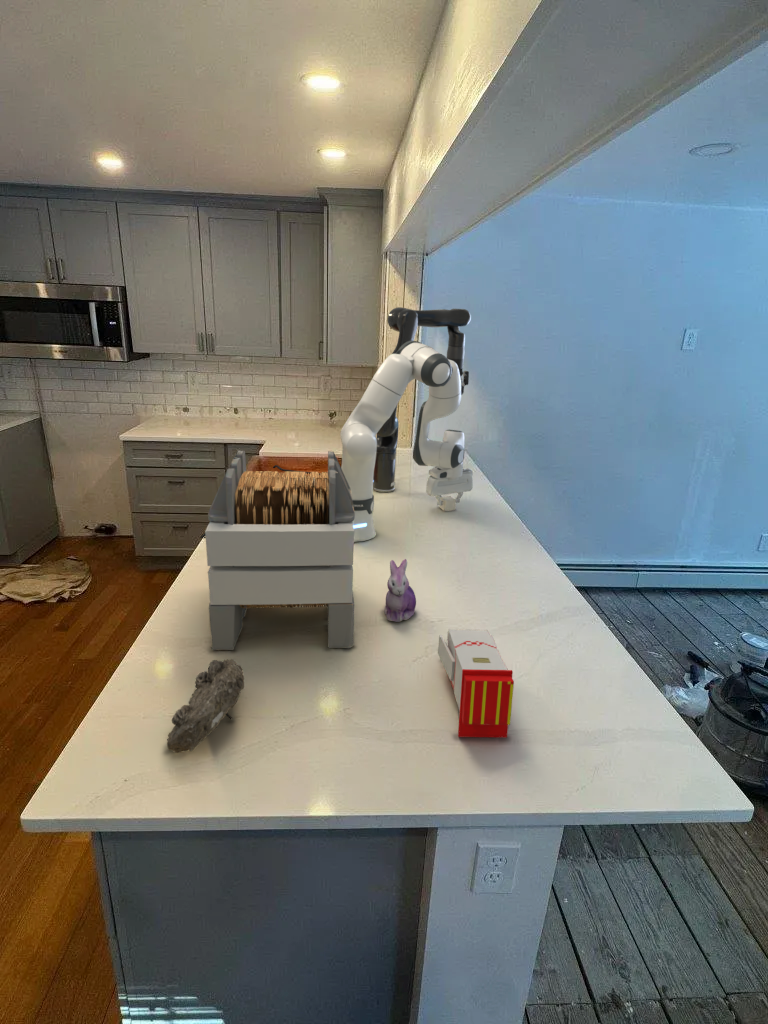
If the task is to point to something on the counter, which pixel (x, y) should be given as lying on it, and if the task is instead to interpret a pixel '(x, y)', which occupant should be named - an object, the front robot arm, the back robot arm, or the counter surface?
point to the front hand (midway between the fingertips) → (448, 503)
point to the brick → (448, 503)
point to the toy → (478, 682)
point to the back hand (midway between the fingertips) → (452, 394)
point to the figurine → (399, 594)
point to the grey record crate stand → (280, 548)
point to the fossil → (206, 705)
